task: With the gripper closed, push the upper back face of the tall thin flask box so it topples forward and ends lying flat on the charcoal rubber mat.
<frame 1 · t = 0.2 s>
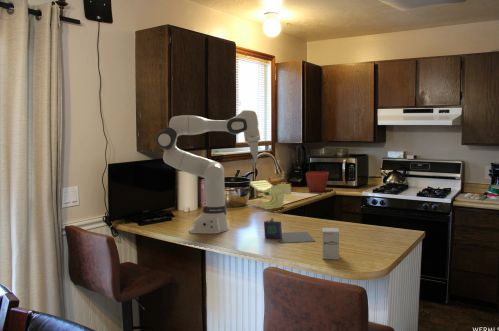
hand: (255, 162, 250), 39 cm above the counter, tool pointing down, fingers open, 8 cm apart
supplement box: (330, 257, 194), on the counter
plant pot: (317, 191, 389), on the counter
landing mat: (294, 237, 230), on the counter
slatted curved stool: (270, 207, 320), on the counter
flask: (273, 238, 230), on the counter, touching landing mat
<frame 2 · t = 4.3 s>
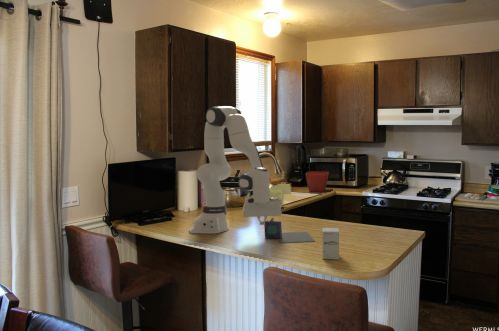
hand: (262, 224, 228), 8 cm above the counter, tool pointing down, fingers closed
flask: (273, 238, 230), on the counter, touching gripper, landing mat
everything else where it was.
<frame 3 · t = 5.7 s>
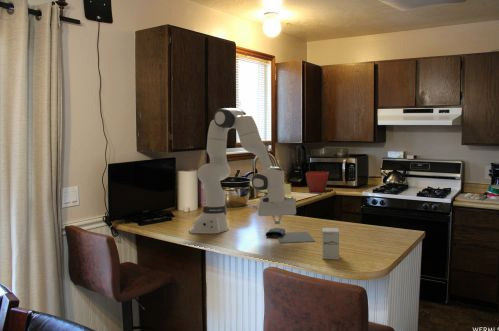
hand: (277, 223, 229), 8 cm above the counter, tool pointing down, fingers closed
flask: (273, 234, 231), point 2 cm above the counter, touching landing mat
everything else where it was.
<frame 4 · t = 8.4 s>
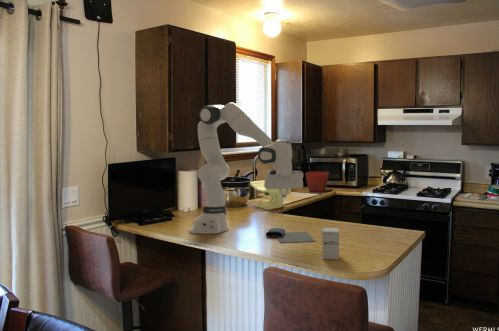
hand: (283, 197, 228), 22 cm above the counter, tool pointing down, fingers closed
nothing on the counter moved.
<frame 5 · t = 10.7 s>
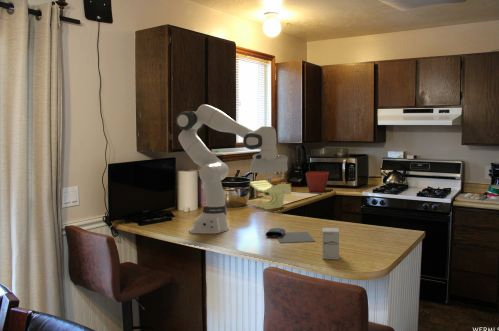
hand: (269, 180, 240), 29 cm above the counter, tool pointing down, fingers closed
nothing on the counter moved.
at the end: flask tilted 90°; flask touching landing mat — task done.
